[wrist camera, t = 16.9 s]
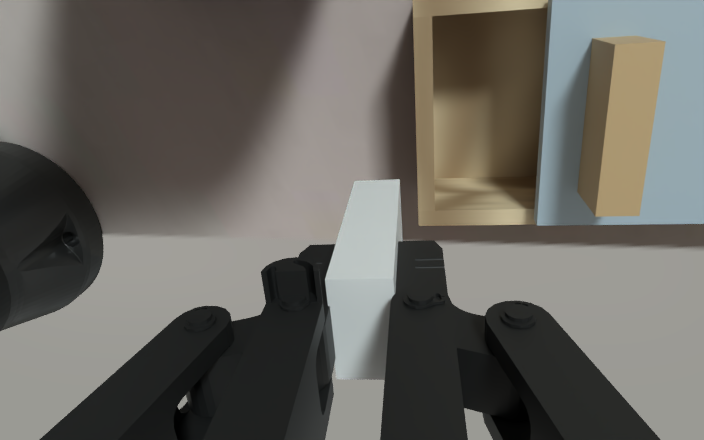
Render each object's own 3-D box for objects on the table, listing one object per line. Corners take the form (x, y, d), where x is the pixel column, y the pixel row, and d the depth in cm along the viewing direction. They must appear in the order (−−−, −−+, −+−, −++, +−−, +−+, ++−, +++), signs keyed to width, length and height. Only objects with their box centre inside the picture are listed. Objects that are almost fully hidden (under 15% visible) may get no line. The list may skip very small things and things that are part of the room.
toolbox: (420, 187, 39) (418, 226, 32) (416, -4, 33) (412, -3, 27) (800, 178, 35) (884, 220, 28) (860, -39, 30) (977, -49, 23)
